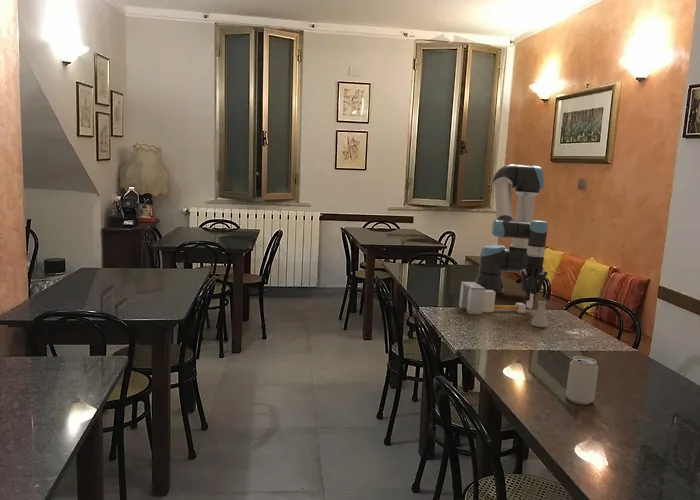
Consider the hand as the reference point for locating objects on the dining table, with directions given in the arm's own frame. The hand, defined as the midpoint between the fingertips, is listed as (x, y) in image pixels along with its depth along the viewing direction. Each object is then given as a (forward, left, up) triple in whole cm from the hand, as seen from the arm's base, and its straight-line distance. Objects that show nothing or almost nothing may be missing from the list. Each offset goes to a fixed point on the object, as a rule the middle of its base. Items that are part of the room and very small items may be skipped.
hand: (529, 307), depth 269 cm
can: (+35, +97, -2) cm, 103 cm away
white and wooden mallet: (+13, 0, -2) cm, 13 cm away
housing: (+28, 0, -2) cm, 28 cm away
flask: (+7, +22, -2) cm, 23 cm away
